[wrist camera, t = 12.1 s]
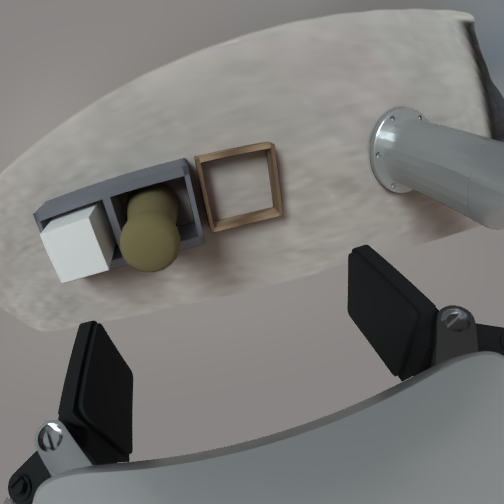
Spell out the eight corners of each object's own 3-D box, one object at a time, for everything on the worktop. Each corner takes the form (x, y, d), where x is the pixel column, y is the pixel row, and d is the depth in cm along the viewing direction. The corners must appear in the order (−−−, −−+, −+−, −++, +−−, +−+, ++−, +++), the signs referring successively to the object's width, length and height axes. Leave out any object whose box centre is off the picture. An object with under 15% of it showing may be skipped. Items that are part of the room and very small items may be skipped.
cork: (152, 241, 34) (151, 296, 25) (116, 207, 31) (97, 251, 22) (190, 207, 34) (202, 250, 24) (154, 169, 30) (149, 198, 21)
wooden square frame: (268, 141, 32) (274, 143, 31) (276, 209, 37) (282, 215, 35) (194, 156, 31) (195, 159, 29) (209, 226, 35) (211, 232, 33)
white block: (102, 195, 30) (88, 217, 24) (117, 239, 33) (109, 269, 27) (60, 209, 29) (39, 234, 23) (76, 251, 32) (62, 283, 26)
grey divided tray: (184, 158, 31) (187, 165, 27) (201, 229, 35) (205, 244, 32) (45, 201, 28) (32, 214, 24) (71, 265, 32) (62, 284, 29)
